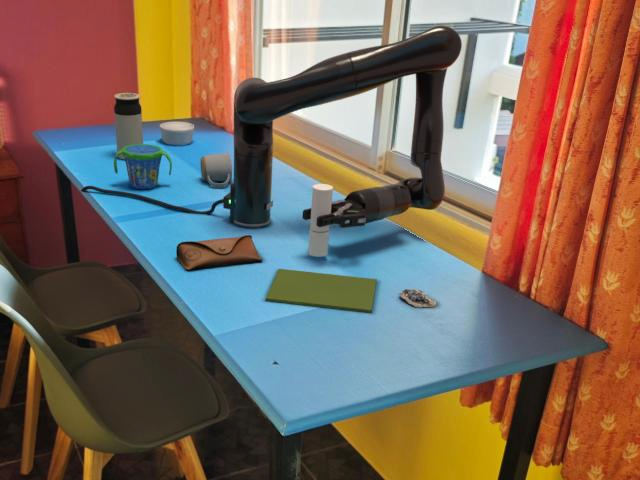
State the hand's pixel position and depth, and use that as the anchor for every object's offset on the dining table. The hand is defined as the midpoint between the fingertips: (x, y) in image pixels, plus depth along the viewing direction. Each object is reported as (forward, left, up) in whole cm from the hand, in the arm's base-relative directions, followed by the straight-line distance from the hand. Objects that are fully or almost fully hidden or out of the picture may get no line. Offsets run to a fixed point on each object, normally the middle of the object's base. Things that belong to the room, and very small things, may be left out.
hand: (310, 218), depth 166 cm
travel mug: (-74, +53, -10) cm, 92 cm away
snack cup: (-57, +30, -10) cm, 66 cm away
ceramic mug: (-40, +42, -10) cm, 59 cm away
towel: (+8, -14, -10) cm, 18 cm away
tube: (+2, +2, -9) cm, 9 cm away
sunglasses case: (-18, -8, -10) cm, 22 cm away
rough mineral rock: (+27, -10, -10) cm, 30 cm away
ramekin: (-69, +75, -10) cm, 103 cm away
